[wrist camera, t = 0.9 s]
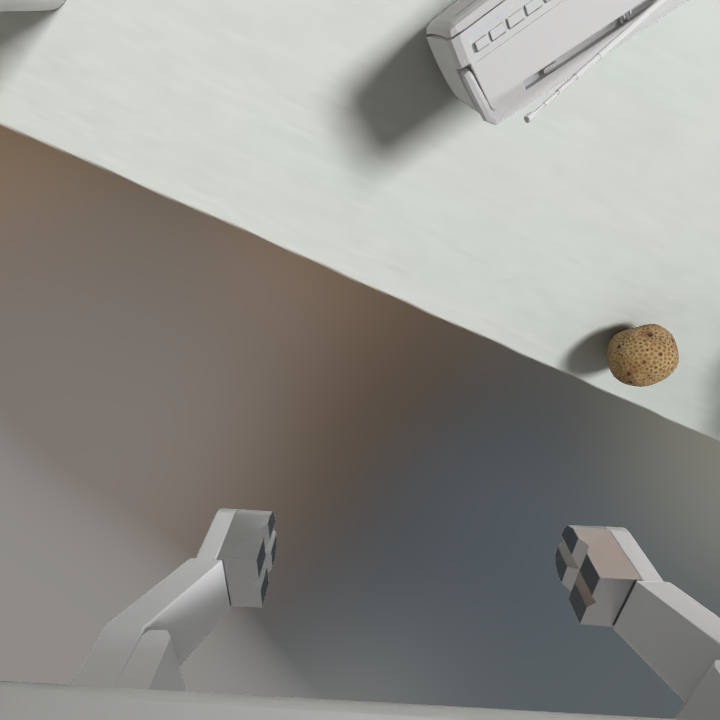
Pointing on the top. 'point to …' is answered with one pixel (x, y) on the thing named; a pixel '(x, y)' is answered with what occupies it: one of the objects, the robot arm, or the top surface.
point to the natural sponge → (642, 355)
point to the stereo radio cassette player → (529, 46)
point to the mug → (29, 5)
